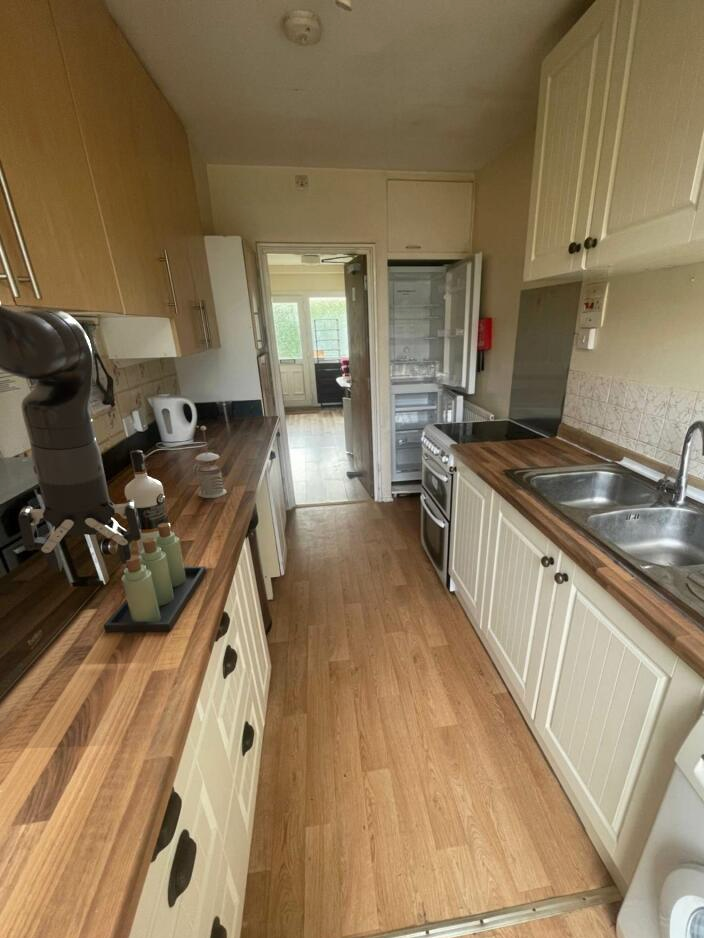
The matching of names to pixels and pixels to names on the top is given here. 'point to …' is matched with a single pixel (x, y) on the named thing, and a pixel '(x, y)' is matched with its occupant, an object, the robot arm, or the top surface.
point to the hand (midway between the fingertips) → (92, 564)
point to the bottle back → (171, 553)
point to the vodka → (146, 499)
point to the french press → (209, 475)
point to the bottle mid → (157, 570)
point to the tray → (168, 612)
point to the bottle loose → (140, 592)
